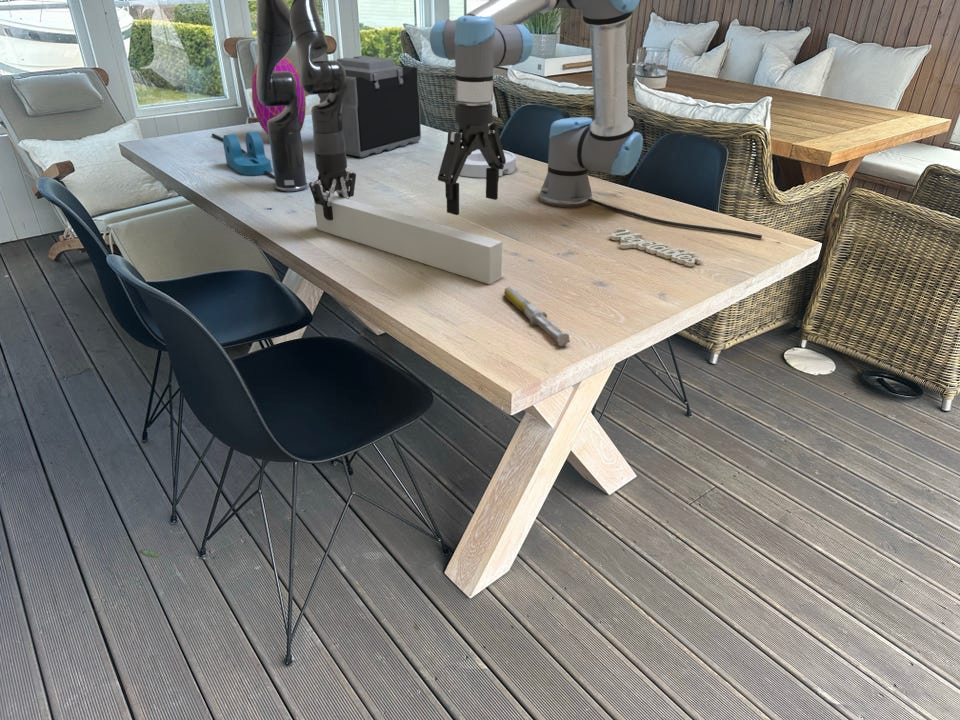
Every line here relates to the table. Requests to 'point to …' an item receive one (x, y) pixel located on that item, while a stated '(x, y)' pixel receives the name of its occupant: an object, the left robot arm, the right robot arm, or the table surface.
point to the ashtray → (486, 164)
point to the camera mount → (246, 154)
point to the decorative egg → (270, 112)
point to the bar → (414, 239)
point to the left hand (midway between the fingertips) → (336, 216)
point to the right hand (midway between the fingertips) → (472, 205)
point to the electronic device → (378, 105)
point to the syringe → (536, 316)
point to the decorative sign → (653, 247)
